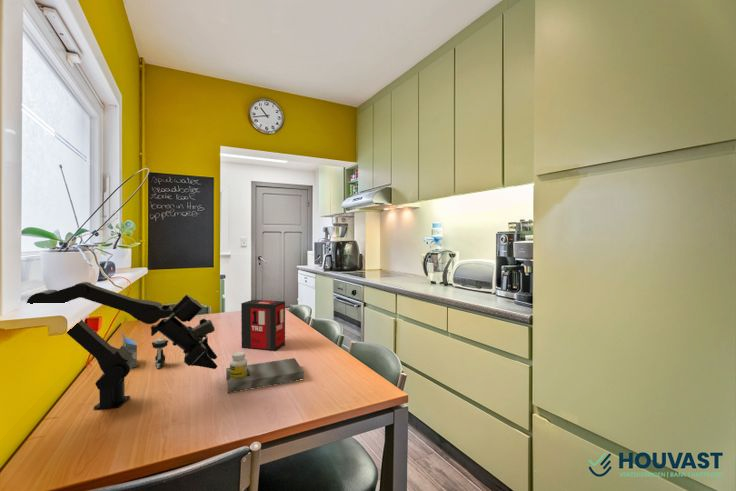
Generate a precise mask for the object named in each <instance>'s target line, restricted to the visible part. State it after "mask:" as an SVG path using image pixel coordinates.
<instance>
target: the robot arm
mask: <svg viewBox="0 0 736 491" xmlns="http://www.w3.org/2000/svg"><path fill="white" fill-rule="evenodd" d="M79 298H82V299H85V300H86V301H87V300H88V301H91V302H94V303H97V304H101V305H103V306H106V307H110V308H113V309H115V310H118V311H122V312H124V313H126V314H128V315H130V316H131V317H133V318H134V319H136V320H138V321H139V322H141V323H144V324H146V325H151V326H150V330H151V331H150V336H151V337H153V336H154V335H156V333H158V332H159V333H160V334H162V335H163V336H164V337H166V338H167V339H168V340H169V341H171V342H172V345H173V346H174V347H175V346H177V347H179V348H180V349H181V350H183V352H182V353H183V354H184V358H183V359H184V360H183V363H185V364H186V365H187V366H189V367H190V366H191V367H193V366H194V367H200V368H201V367H202V368H208V369H212V370H216V369H217V368H218V365H217V363H215V360H216V359H217V358H218V355H216V353H215V351H214V350H213V349H212V348H211V346H210V345H209V340H208V339H209V337H208V334H211V333H213V332H215V326H214V324H213V322H212V320H211V319H208V320H207V319H206V318H202V319H199V324H197V325H196V326H195V327H192V326H191V325H190V326H189V325H188V326H187V325H186V324H184V323H186V322H189V323H190V322H191V321H192V320H193V319H194V318H195V317H196V316H197V315H198V314H199V313H200V312H201V311H202V310H204V306H203V305H202V304H201V303H200V302H199V301H198V300H197V299H194V298H193V297H192V296H189V295H188V294H185V295H184V296H183V297H182V299H180V300H179V302H177V303H176V304H175V305H168V304H167V305H166V304H165V305H164V304H162V303H160V302H159V301H154V300H148V299H137V298H133V297H130V296H127V295H124V294H121V293H118V292H115V291H113V290H109V289H107V288H103V287H101V286H98V285H95V284H92V283H91V282H89V281H83V282H79V283H75V285H72V286H68V287H65V288H62V289H59V290H57V289H45V290H43V291H39V292H36V293H34V294H32V295H30V296H29V297H28V298H27V300H26V304H27V303H30V304H33V303H65V302H70V301H73V300H77V299H79ZM172 313H173V314H172ZM157 322H158V323H157ZM156 323H157V324H156ZM66 334H67V335H68V336H69V338H72V339H73V340H74V341H75V342H76V343H77V344H78V345H80V346H81V347H82V348H83V349H84V350H85V351H86V352H88V353H89V354H90V355H91V356H93V357H94V359H96V361H97V363H98V366H99V368H100V370H101V371H102V375H100V377H99V378H98V379H97V380H96V382H95V386H96V389H97V390H98V392H99V395H98V396H99V398H98V399H99V402H98V403H97V404H95V405H94V406H93V410H100V409H116V408H119V407H121V406H122V405H123V404H124V403H125V402H127V401H129V399H130V398H131V395H126V393H125V392H126V391H125V390H126V389H125V378H126V377H128V376H129V373H130V372H131V370H133V368H132V367H133V365H134V358H133V357H132V355H133V353H130V352H128V351H127V349H126V348H125V347H124V346H123V345H121V346H120V347H119V348H118V347H114V346H112V345H111V344H110V343H108V341H106V340H105V339H104V338H103V337H102V336H100V334H98V333H97V332H96V331H95V330H94V329H93V328H91V327H90V326H89V325H88V324H87V323H86V322H85V321H84V320H82V319H81V321H80V322H79V323H77V324H76V325H75V326H74V327H73V328H72V329H70V330H69V331H68V332H67V333H66Z"/></svg>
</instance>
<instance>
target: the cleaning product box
mask: <svg viewBox="0 0 736 491" xmlns="http://www.w3.org/2000/svg"><path fill="white" fill-rule="evenodd" d="M240 309H241V311H240V312H241V316H240V317H241V319H240V320H241V326H240V327H241V332H240V333H241V349H247V350H248V349H249V350H257V351H258V350H259V351H268V352H277V351H278V350H280V349H281V348H283V347H285V346H286V301H283V300H280V301H279V300H263V299H251V300H248V301H244V302H241V308H240Z"/></svg>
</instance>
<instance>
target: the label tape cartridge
mask: <svg viewBox="0 0 736 491" xmlns="http://www.w3.org/2000/svg"><path fill="white" fill-rule="evenodd" d="M121 334H122V346H124V347H125V348H126V349H127V351H128V352H130V353H133V355H132V357H133V358H134V365H133V367H132V369H134V368H137V367H138V348H137V347H138V345H137V343H136V341H135V340H134V339H130V338H126V337H125V335H124V331H122V333H121Z"/></svg>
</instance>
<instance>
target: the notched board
mask: <svg viewBox="0 0 736 491" xmlns="http://www.w3.org/2000/svg"><path fill="white" fill-rule="evenodd" d="M302 368H303V367H301V365H300V364H299V362H298V361H297V360H296V358H295V357H292V358H288V359H287V358H286V359H279V360H273V361H266V362H265V361H264V362H259V363H254V364H253V363H252V364H247V377H240V378H234V379H230V367H226V369H225V370H226V374H225V377H226V381H227V386H226V387H227V394H230V393H229V392H233V393H235V392H234V391H238V392H241V391H240V390H244V391H246V390H245V389H250V390H252V389H251V388H255V389H258V388H257V387H261V388H264V387H263V386H267V387H269V386H268V385H272V386H275V385H274V384H278V385H281V384H280V383H284V384H286V383H285V382H289V383H291V382H290V381H295V382H297V381H296V380H300V379H304V378H305V377H304V376H305V374H304V372H305V371H304V370H303V369H302Z"/></svg>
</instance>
